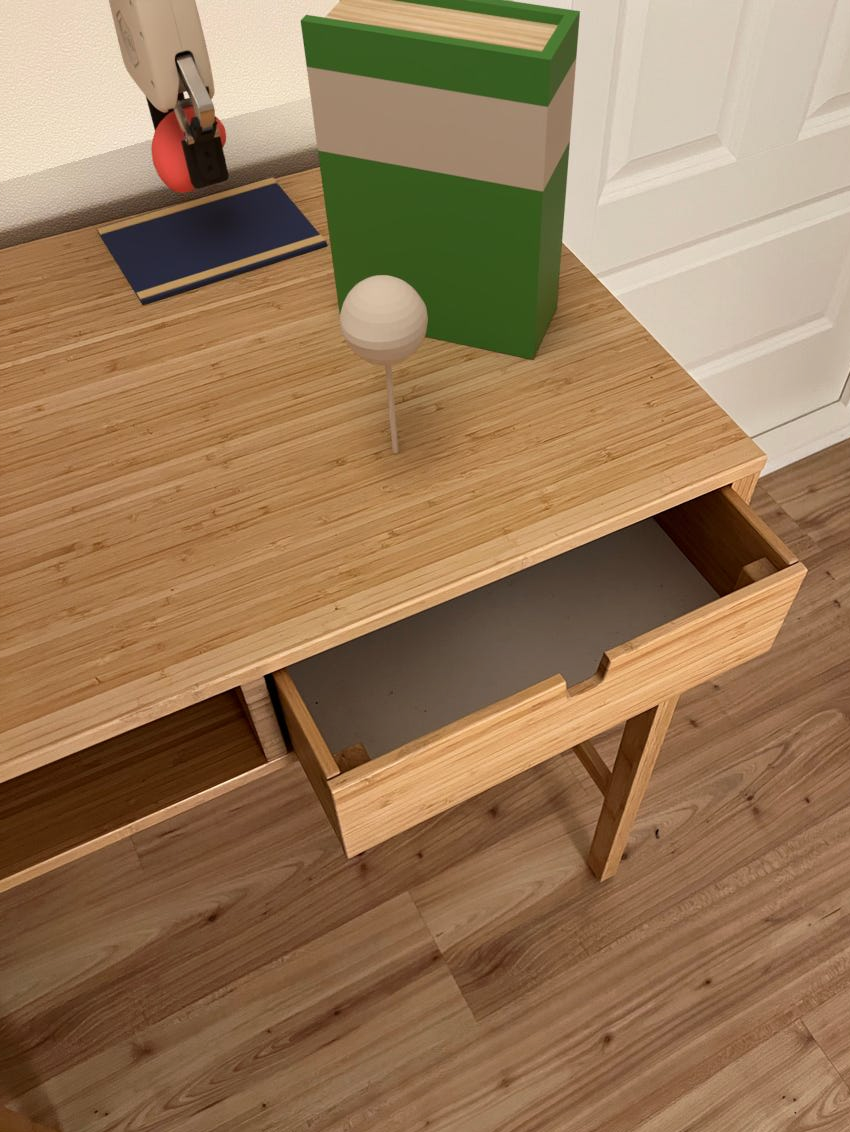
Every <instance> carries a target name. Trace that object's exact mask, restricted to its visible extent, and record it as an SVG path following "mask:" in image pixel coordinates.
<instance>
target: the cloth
mask: <svg viewBox="0 0 850 1132" xmlns="http://www.w3.org/2000/svg"><path fill="white" fill-rule="evenodd" d="M97 231H98V232H97ZM96 232H97V233H98V235H99V237H100V236H101V237H100V239H101V240H102V242H103V243H104V245H105V244H106V245H105V246H106V248H107V249H108V251H109V253H110V254H111V256H112V258H113V259H114V261H115V263H116V264H117V266H118V267H119V269H120V271H121V272H122V274H123V276H124V277H125V279H126V280H127V282H128V284H129V285H130V287H131V289H132V290H133V292H134V293H135V295H136V296H137V298H138V300H139V301H140V303H141V305H142V306H144V305H147V304H150V303H153V302H156V301H160V300H163V299H166V298H169V297H173V296H176V295H178V294H182V293H186V292H188V291H192V290H195V289H198V288H200V287H204V286H208V285H211V284H214V283H217V282H219V281H223V280H225V279H228V278H232V277H235V276H238V275H242V274H244V273H248V272H251V271H254V270H257V269H260V268H263V267H265V266H266V267H267V266H269V265H273V264H276V263H278V262H282V261H286V260H288V259H291V258H295V257H298V256H301V255H305V254H308V253H310V252H313V251H316V250H320V249H323V248H325V247H328V242H327V240H326V238H325V237H324V236H323V235H322V234H320V232H319V231H318V230H317V228H316V227H315V226H314V225H313V224H312V223H311V222H310V220H309V219H308V218H307V216H306V215H304V213H303V212H302V211H301V209H299V207H298V206H297V205H296V203H294V202H293V200H292V199H291V198H290V196H289V195H288V194H287V193H286V191H285V190H283V188H282V187H281V186H280V184H279V183H278V181H277V180H276V179H275V177H273V176H270V177H267V178H264V179H263V178H262V179H260V180H257V181H253V182H250V183H246V184H244V185H239V186H235V187H233V188H230V189H225V190H222V191H219V192H216V193H212V194H209V195H205V196H202V197H198V198H195V199H192V200H188V201H184V202H182V203H178V204H175V205H171V206H168V207H165V208H161V209H157V210H154V211H149V212H148V213H144V214H141V215H137V216H134V217H133V216H132V217H130V218H127V219H123V220H120V221H117V222H112V223H110V224H106V225H103V226H100V227H96Z"/></svg>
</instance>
